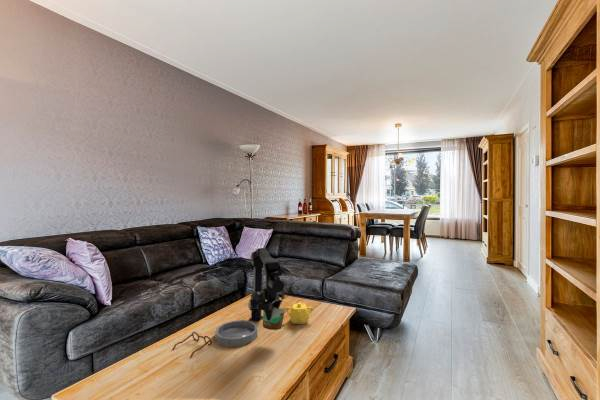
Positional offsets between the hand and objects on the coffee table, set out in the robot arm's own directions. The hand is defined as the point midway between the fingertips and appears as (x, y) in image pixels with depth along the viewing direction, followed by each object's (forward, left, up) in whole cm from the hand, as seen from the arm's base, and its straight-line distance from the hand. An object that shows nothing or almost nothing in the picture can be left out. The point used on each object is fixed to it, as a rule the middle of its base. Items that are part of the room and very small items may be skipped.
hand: (271, 318), depth 144 cm
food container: (+1, 0, -5) cm, 5 cm away
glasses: (+18, -33, -13) cm, 40 cm away
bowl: (0, -20, -12) cm, 23 cm away
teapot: (-27, +4, -12) cm, 30 cm away
